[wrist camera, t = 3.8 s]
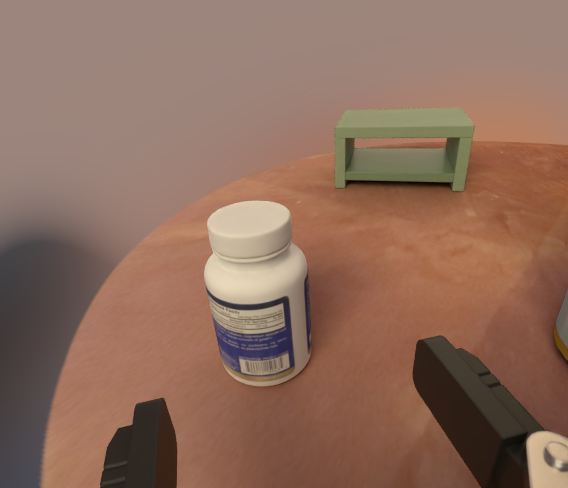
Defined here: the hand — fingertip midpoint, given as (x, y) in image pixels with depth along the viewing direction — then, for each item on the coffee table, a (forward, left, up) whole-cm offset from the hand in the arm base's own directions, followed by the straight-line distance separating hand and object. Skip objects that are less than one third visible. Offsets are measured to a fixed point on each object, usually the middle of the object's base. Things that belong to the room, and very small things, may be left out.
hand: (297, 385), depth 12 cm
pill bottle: (+4, -7, -7) cm, 11 cm away
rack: (-3, -39, -7) cm, 40 cm away
